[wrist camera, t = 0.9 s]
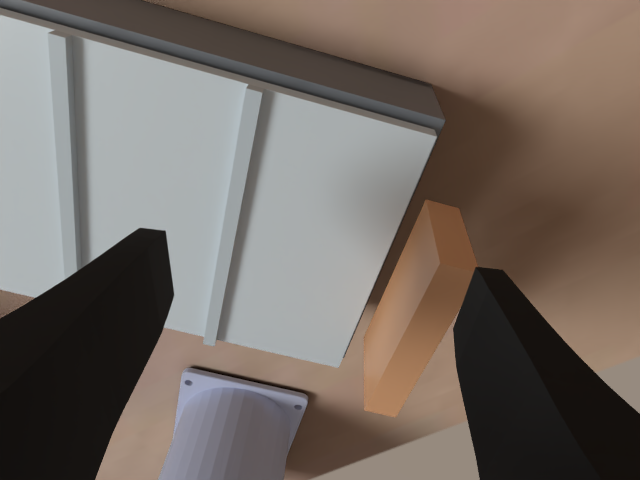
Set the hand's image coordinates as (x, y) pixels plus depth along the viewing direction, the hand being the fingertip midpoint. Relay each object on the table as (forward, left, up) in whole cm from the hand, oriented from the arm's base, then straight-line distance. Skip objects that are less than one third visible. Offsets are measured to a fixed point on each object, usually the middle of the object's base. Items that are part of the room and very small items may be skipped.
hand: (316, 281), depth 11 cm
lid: (-3, +5, -6) cm, 9 cm away
